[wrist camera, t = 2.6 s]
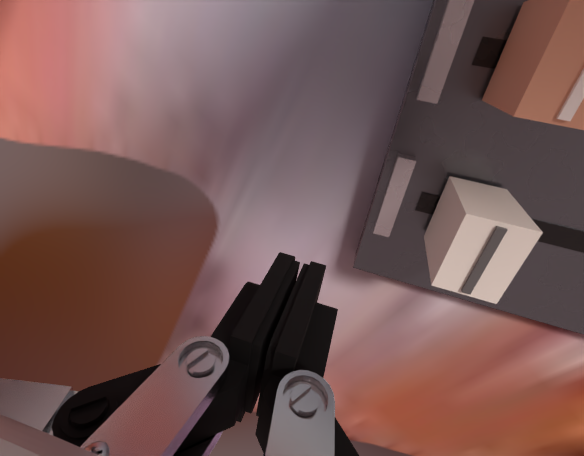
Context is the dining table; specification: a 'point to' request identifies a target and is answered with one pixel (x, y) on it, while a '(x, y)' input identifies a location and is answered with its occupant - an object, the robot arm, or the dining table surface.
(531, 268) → the console
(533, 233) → the fader ivory
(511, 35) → the fader terracotta
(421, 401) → the dining table surface
